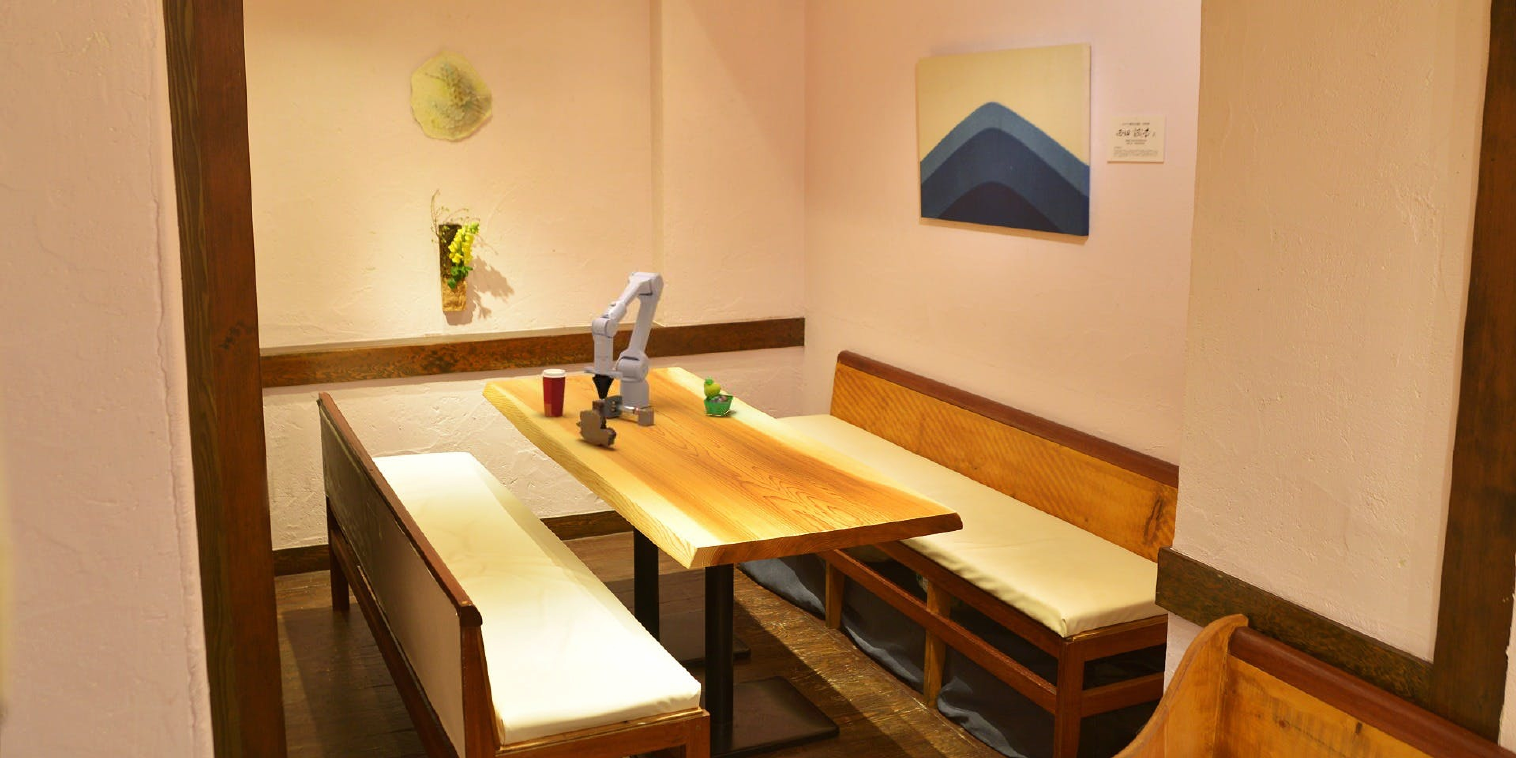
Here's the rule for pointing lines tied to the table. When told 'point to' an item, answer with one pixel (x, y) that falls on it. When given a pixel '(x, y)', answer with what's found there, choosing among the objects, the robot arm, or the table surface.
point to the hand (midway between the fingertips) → (602, 398)
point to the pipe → (643, 415)
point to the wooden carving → (596, 428)
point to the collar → (608, 406)
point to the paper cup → (553, 392)
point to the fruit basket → (715, 399)
